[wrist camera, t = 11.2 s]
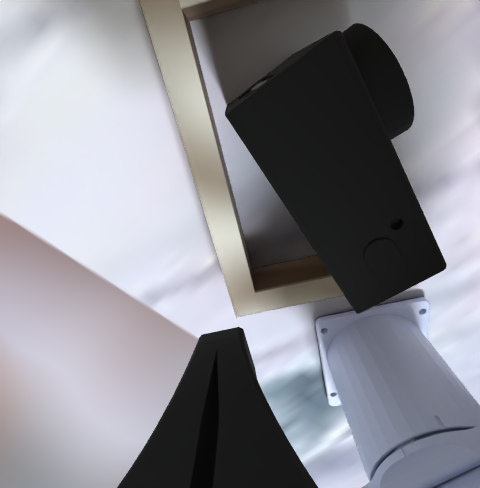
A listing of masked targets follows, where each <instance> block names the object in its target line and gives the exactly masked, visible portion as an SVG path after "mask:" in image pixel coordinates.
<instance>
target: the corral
mask: <svg viewBox="0 0 480 488" xmlns="http://www.w3.org/2000/svg"><path fill="white" fill-rule="evenodd" d="M139 1H140V4H141V7H142V10H143V14H144V17H145V20H146V24H147V27H148V30H149V33H150V37H151V40H152V43H153V47H154V50H155V53H156V56H157V60H158V63H159V66H160V69H161V73H162V76H163V79H164V83H165V86H166V89H167V92H168V96H169V99H170V102H171V105H172V109H173V112H174V115H175V119H176V122H177V125H178V128H179V132H180V135H181V138H182V142H183V145H184V148H185V151H186V155H187V158H188V161H189V164H190V168H191V171H192V174H193V178H194V181H195V184H196V187H197V191H198V194H199V197H200V200H201V204H202V207H203V210H204V214H205V217H206V220H207V223H208V227H209V230H210V233H211V237H212V240H213V243H214V246H215V250H216V253H217V256H218V259H219V263H220V266H221V269H222V273H223V276H224V279H225V282H226V286H227V289H228V292H229V295H230V299H231V302H232V305H233V309H234V312H235V315H236V317H241V316H246V315H250V314H255V313H260V312H265V311H270V310H275V309H280V308H285V307H290V306H295V305H299V304H304V303H309V302H314V301H319V300H324V299H329V298H334V297H339V296H343V295H344V294H343V292H342V291H341V289H340V288H339V286H338V285H337V283H336V282H335V280H334V279H333V277H332V276H331V274H330V273H329V271H328V270H327V268H326V267H325V265H324V264H323V262H322V261H321V259H320V258H319V256H318V255H316V256H311V257H307V258H302V259H297V260H293V261H288V262H283V263H279V264H274V265H269V266H265V267H260V268H256V269H252V267H251V263H250V259H249V255H248V251H247V247H246V243H245V239H244V235H243V231H242V227H241V223H240V219H239V216H238V212H237V208H236V204H235V200H234V196H233V192H232V188H231V184H230V180H229V176H228V172H227V168H226V164H225V160H224V156H223V153H222V149H221V145H220V141H219V137H218V133H217V129H216V125H215V121H214V117H213V113H212V109H211V105H210V101H209V97H208V93H207V89H206V86H205V82H204V78H203V74H202V70H201V66H200V62H199V58H198V54H197V50H196V46H195V42H194V38H193V34H192V30H191V26H190V22H189V21H192V20H196V19H199V18H203V17H206V16H210V15H213V14H217V13H220V12H224V11H227V10H231V9H234V8H238V7H241V6H245V5H248V4H252V3H255V2H259V1H263V0H139Z"/></svg>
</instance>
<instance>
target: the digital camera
mask: <svg viewBox="0 0 480 488" xmlns="http://www.w3.org/2000/svg"><path fill="white" fill-rule="evenodd" d="M225 116H226V117H227V119H228V120H229V122H230V123H231V125H232V126H233V128H234V129H235V131H236V132H237V134H238V135H239V137H240V138H241V140H242V141H243V143H244V144H245V146H246V147H247V149H248V150H249V152H250V153H251V155H252V156H253V158H254V160H255V161H256V163H257V164H258V166H259V167H260V169H261V170H262V172H263V173H264V175H265V176H266V178H267V179H268V181H269V182H270V184H271V185H272V187H273V188H274V190H275V191H276V193H277V194H278V196H279V197H280V199H281V200H282V202H283V203H284V205H285V206H286V208H287V209H288V211H289V212H290V214H291V215H292V217H293V218H294V220H295V221H296V223H297V224H298V226H299V227H300V229H301V230H302V232H303V233H304V235H305V236H306V238H307V240H308V241H309V243H310V244H311V246H312V247H313V249H314V250H315V252H316V253H317V255H318V256H319V258H320V259H321V261H322V262H323V264H324V265H325V267H326V268H327V270H328V271H329V273H330V274H331V276H332V277H333V279H334V280H335V282H336V283H337V285H338V286H339V288H340V289H341V291H342V292H343V294H344V295H345V297H346V298H347V300H348V301H349V303H350V304H351V306H352V307H353V309H354V310H355V312H356V313H357V314H359V313H362V312H364V311H366V310H367V309H369V308H371V307H373V306H375V305H377V304H379V303H381V302H383V301H385V300H387V299H389V298H391V297H393V296H395V295H397V294H399V293H401V292H403V291H404V290H406V289H408V288H410V287H412V286H414V285H416V284H418V283H420V282H422V281H424V280H426V279H428V278H430V277H432V276H434V275H436V274H438V273H440V272H441V271H443V270H444V269H446V262H445V260H444V258H443V255H442V253H441V251H440V249H439V247H438V244H437V242H436V240H435V238H434V236H433V233H432V231H431V229H430V227H429V224H428V222H427V220H426V218H425V216H424V213H423V211H422V209H421V207H420V205H419V202H418V200H417V198H416V196H415V193H414V191H413V189H412V187H411V185H410V182H409V180H408V178H407V176H406V173H405V171H404V169H403V167H402V165H401V162H400V160H399V158H398V156H397V154H396V151H395V149H394V147H393V145H392V142H391V140H392V139H393V138H395V137H396V136H398V135H400V134H401V133H403V132H404V131H406V130H408V129H409V128H410V127H411V125H412V123H413V119H414V105H413V99H412V95H411V91H410V88H409V85H408V82H407V79H406V77H405V75H404V72H403V70H402V68H401V66H400V64H399V62H398V60H397V59H396V57H395V55H394V54H393V52H392V51H391V49H390V48H389V47H388V45H387V44H386V43H385V42H384V40H383V39H382V38H381V37H380V36H379V35H378V34H377V33H376V32H375V31H373V30H372V29H371V28H369V27H367V26H365V25H363V24H353V25H352V26H351V27H349V28H348V29H347V30H345V31H344V32H343V33H342V32H341V31H335V32H333V33H331V34H329V35H327V36H325V37H323V38H322V39H320V40H318V41H316V42H314V43H313V44H311V45H309V46H307V47H306V48H304V49H302V50H300V51H298V52H296V53H295V54H293V55H292V56H291V57H289V58H288V59H287V60H285V61H284V62H283V63H282V64H280V65H279V66H278V67H276V68H275V69H274V70H272V71H271V72H270V73H269V74H267V75H266V76H265V77H263V78H262V79H261V80H259V81H258V82H257V83H256V84H254V85H253V86H252V87H250V88H249V89H248V90H246V91H245V92H244V93H242V94H241V95H240V96H239V97H237V98H236V99H235V100H233V101H232V102H231V103H230V104H228V105H227V108H226V111H225Z"/></svg>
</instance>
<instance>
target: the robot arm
mask: <svg viewBox="0 0 480 488" xmlns="http://www.w3.org/2000/svg"><path fill="white" fill-rule="evenodd" d="M429 307H430V304H429V301H428V300H427V299H426V298H423V297H420V298H415V299H410V300H405V301H400V302H395V303H390V304H385V305H380V306H375V307H371V308H369V309H367V310H366V311H364V312H362V313H359V314H357V313H356V312H355V311H350V312H345V313H340V314H335V315H330V316H325V317H321V318H318V319H317V320H316V322H315V326H316V332H317V338H318V344H319V350H320V356H321V362H322V369H323V375H324V381H325V387H326V393H327V399H328V403H329V405H331V406H338V405H342V406H343V409H344V412H345V415H346V418H347V421H348V424H349V426H350V429H351V432H352V435H353V438H354V441H355V443H356V446H357V449H358V452H359V455H360V458H361V460H362V463H363V466H364V469H365V472H366V474H367V476H368V479H369V481H370V482H369V483H368V484H367V485H365V486H364V487H362V488H480V405H479V404H478V403H477V402H476V400H475V399H474V398H473V396H472V395H471V394H470V393H469V391H468V390H467V389H466V388H465V386H464V385H463V384H462V382H461V381H460V380H459V379H458V377H457V376H456V375H455V374H454V372H453V371H452V370H451V369H450V367H449V366H448V365H447V363H446V362H445V361H444V360H443V358H442V357H441V356H440V355H439V353H438V352H437V351H436V350H435V348H434V347H433V346H432V344H431V343H430V342H429V341H428V328H429ZM421 309H422V310H421ZM420 310H421V311H420ZM323 328H326V329H324V330H321V329H323ZM117 488H318V487H317V485H316V484H315V482H314V481H313V479H312V478H311V476H310V475H309V473H308V472H307V470H306V468H305V467H304V465H303V464H302V462H301V461H300V459H299V457H298V456H297V454H296V452H295V451H294V449H293V447H292V446H291V444H290V443H289V441H288V439H287V437H286V436H285V434H284V432H283V430H282V429H281V427H280V425H279V423H278V421H277V420H276V418H275V416H274V414H273V412H272V410H271V408H270V406H269V404H268V402H267V400H266V398H265V396H264V394H263V392H262V390H261V388H260V385H259V383H258V381H257V377H256V372H255V367H254V364H253V360H252V357H251V354H250V350H249V347H248V344H247V341H246V337H245V334H244V331H243V329H242V328H240V327H237V328H232V329H227V330H222V331H218V332H213V333H208V334H203V335H201V337H200V338H199V340H198V343H197V345H196V347H195V350H194V352H193V354H192V357H191V359H190V361H189V363H188V366H187V368H186V370H185V372H184V374H183V377H182V378H181V381H180V382H179V385H178V387H177V389H176V391H175V393H174V395H173V397H172V399H171V401H170V402H169V405H168V406H167V408H166V410H165V412H164V413H163V415H162V417H161V419H160V421H159V423H158V425H157V426H156V428H155V430H154V431H153V433H152V435H151V436H150V438H149V440H148V442H147V443H146V445H145V446H144V448H143V450H142V451H141V453H140V454H139V456H138V457H137V459H136V461H135V462H134V464H133V465H132V467H131V468H130V470H129V471H128V473H127V474H126V476H125V477H124V478H123V480H122V481H121V483H120V484H119V486H118V487H117Z"/></svg>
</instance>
